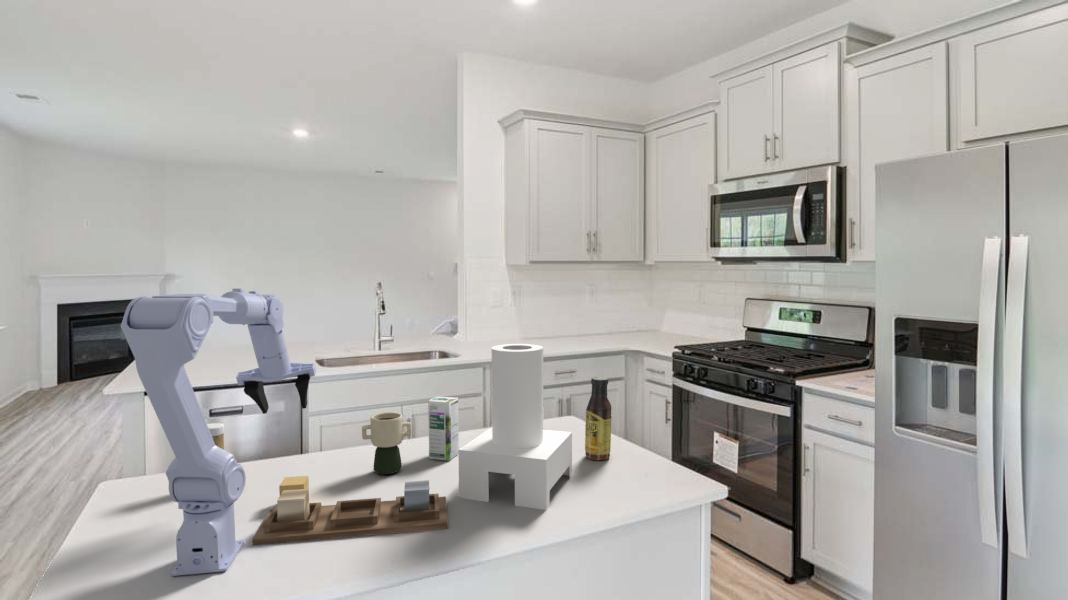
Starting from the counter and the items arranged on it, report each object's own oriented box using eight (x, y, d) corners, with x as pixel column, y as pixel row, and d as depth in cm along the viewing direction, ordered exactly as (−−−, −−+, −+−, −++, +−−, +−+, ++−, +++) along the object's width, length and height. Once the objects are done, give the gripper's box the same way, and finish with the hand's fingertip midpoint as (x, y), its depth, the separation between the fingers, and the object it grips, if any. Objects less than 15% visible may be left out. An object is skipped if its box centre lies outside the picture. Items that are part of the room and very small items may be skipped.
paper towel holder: (546, 510, 113) (546, 356, 111) (459, 497, 119) (457, 352, 117) (571, 476, 131) (572, 343, 129) (494, 466, 137) (493, 339, 135)
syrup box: (428, 459, 142) (427, 400, 141) (438, 451, 147) (438, 395, 146) (449, 461, 140) (448, 402, 139) (459, 453, 146) (458, 396, 145)
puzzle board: (448, 528, 105) (447, 496, 105) (252, 545, 99) (251, 510, 99) (445, 501, 117) (445, 472, 117) (270, 514, 111) (269, 484, 111)
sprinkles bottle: (227, 487, 124) (225, 426, 123) (203, 492, 122) (200, 429, 121) (225, 481, 128) (222, 421, 127) (201, 485, 126) (198, 424, 125)
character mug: (411, 464, 138) (410, 410, 137) (412, 475, 131) (411, 418, 131) (363, 468, 136) (362, 413, 135) (362, 479, 129) (361, 422, 128)
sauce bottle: (580, 455, 144) (580, 376, 143) (601, 451, 147) (602, 373, 145) (593, 463, 138) (594, 381, 137) (616, 459, 141) (616, 378, 140)
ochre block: (304, 509, 114) (303, 484, 114) (280, 510, 113) (279, 485, 113) (309, 499, 118) (308, 475, 118) (285, 501, 118) (284, 477, 117)
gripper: (312, 337, 119) (324, 392, 125) (236, 345, 117) (252, 401, 123) (307, 354, 113) (320, 412, 119) (227, 363, 110) (244, 422, 116)
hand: (285, 408), depth 120 cm, fingers open, 7 cm apart
